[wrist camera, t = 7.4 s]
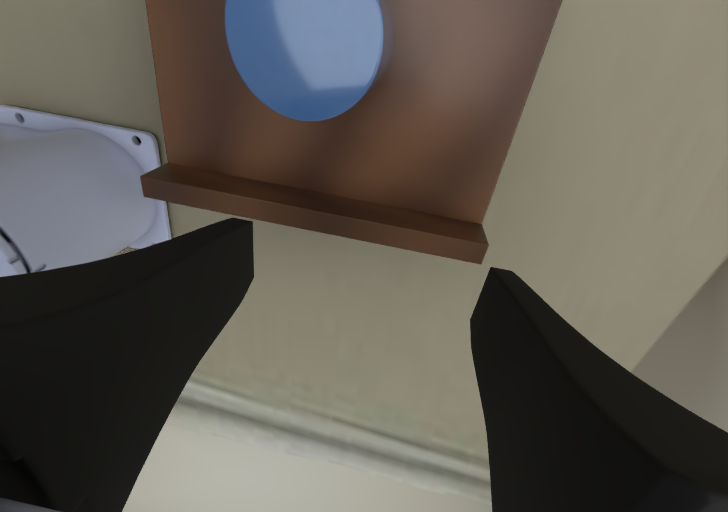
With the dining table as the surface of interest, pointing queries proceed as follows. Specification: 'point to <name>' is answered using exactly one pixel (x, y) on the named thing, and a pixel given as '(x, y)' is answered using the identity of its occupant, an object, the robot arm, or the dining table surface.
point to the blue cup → (310, 52)
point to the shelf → (354, 126)
